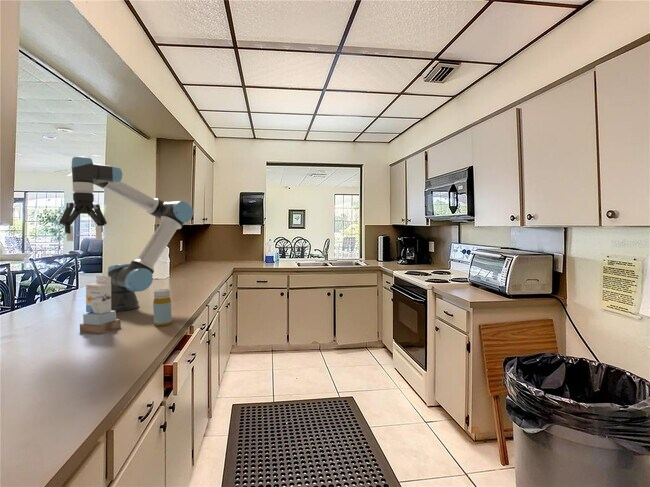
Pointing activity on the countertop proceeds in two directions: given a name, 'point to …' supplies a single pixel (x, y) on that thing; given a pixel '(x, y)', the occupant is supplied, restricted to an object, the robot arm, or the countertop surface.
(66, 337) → the countertop surface
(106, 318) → the light grey block
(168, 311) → the bottle
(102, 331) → the walnut block
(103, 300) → the ink box
